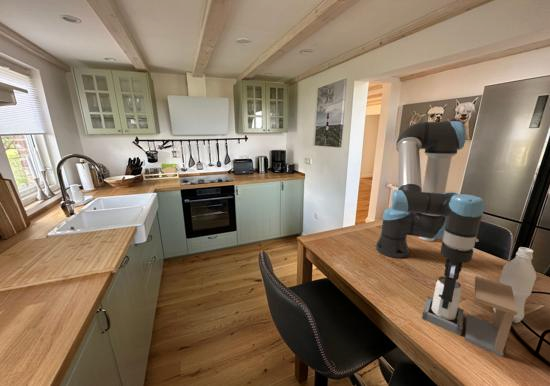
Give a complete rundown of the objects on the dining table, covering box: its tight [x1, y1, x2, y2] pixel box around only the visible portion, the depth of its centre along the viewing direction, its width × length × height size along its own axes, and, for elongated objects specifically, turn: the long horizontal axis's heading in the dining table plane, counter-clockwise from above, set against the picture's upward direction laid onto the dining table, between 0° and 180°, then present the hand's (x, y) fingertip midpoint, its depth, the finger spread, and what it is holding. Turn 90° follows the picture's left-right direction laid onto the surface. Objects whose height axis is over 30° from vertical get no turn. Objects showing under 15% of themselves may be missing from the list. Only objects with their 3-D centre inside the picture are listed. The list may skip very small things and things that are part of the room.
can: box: [431, 276, 462, 321], centre depth 72 cm, size 6×6×12 cm
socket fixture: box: [421, 275, 517, 358], centre depth 69 cm, size 19×13×15 cm
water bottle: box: [492, 246, 537, 324], centre depth 71 cm, size 7×7×25 cm
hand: (444, 308), depth 73 cm, fingers closed on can, 6 cm apart
